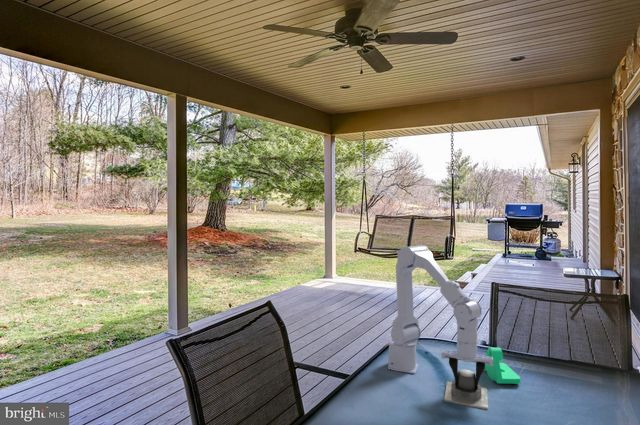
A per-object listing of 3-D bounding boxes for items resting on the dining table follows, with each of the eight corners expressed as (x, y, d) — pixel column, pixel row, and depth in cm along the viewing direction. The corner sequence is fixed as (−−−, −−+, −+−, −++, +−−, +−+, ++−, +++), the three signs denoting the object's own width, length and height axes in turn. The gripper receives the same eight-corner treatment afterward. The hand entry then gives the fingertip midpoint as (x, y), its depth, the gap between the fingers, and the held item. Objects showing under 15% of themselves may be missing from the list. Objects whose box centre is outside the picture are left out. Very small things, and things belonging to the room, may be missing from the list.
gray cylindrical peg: (457, 392, 117) (457, 374, 117) (457, 384, 122) (458, 368, 121) (475, 395, 115) (475, 377, 115) (474, 387, 120) (475, 370, 120)
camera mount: (521, 386, 124) (522, 355, 124) (497, 386, 124) (498, 355, 124) (504, 370, 136) (505, 341, 136) (482, 369, 136) (483, 341, 136)
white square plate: (444, 401, 115) (444, 391, 115) (446, 383, 126) (447, 373, 126) (488, 409, 111) (488, 398, 111) (487, 390, 122) (487, 380, 122)
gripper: (441, 341, 117) (440, 385, 117) (493, 348, 111) (492, 395, 112) (442, 333, 123) (442, 375, 124) (492, 340, 118) (491, 384, 118)
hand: (466, 384), depth 118 cm, fingers closed on gray cylindrical peg, 5 cm apart
